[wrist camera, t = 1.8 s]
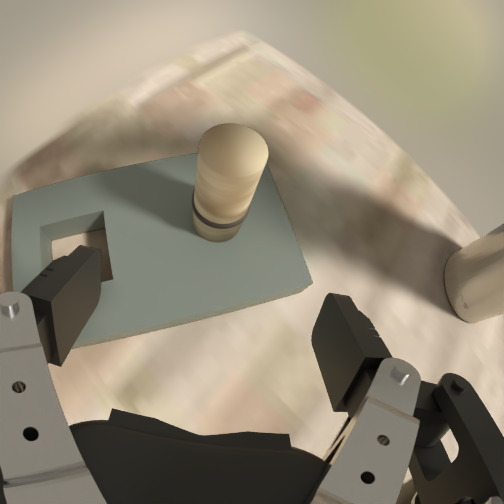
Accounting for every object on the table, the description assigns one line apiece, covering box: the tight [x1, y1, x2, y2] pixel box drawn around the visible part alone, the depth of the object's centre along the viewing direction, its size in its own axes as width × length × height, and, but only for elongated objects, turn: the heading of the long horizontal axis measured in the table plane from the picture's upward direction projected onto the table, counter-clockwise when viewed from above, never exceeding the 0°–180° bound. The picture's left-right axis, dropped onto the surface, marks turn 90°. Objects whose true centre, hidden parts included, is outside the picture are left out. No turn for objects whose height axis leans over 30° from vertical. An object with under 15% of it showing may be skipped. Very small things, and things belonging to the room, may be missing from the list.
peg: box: [192, 124, 268, 243], centre depth 22 cm, size 4×4×9 cm
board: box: [11, 153, 313, 349], centre depth 25 cm, size 24×14×3 cm, turn 108°
